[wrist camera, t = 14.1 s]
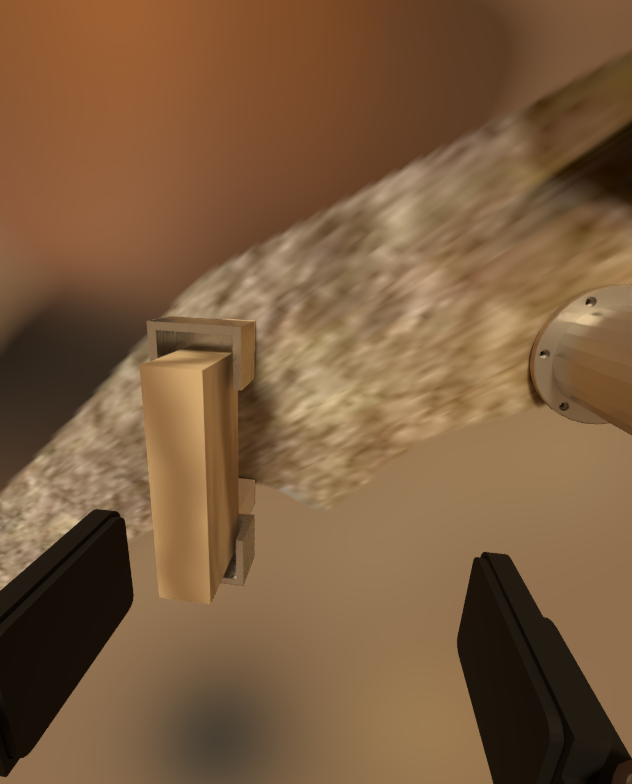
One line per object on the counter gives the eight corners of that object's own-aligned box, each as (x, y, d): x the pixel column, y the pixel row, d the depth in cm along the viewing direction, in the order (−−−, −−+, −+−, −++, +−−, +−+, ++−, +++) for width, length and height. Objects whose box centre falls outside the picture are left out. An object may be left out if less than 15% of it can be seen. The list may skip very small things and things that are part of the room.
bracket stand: (274, 313, 36) (240, 326, 26) (271, 510, 43) (243, 585, 32) (206, 309, 37) (146, 320, 26) (213, 504, 43) (167, 576, 33)
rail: (237, 350, 29) (202, 370, 23) (238, 541, 35) (210, 604, 28) (188, 346, 30) (139, 365, 23) (197, 536, 35) (159, 597, 28)
